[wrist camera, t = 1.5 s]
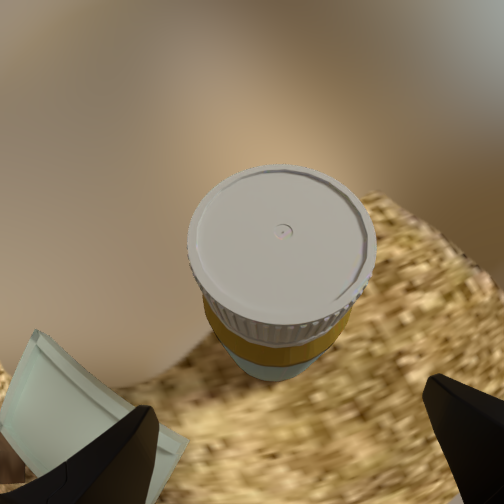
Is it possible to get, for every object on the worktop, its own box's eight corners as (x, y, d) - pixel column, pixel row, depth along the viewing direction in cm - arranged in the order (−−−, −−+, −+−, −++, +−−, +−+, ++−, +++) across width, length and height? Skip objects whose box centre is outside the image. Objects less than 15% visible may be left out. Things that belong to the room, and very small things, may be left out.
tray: (141, 532, 12) (121, 547, 9) (22, 428, 16) (-5, 424, 13) (195, 437, 18) (181, 443, 14) (60, 341, 22) (35, 328, 18)
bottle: (239, 390, 20) (187, 366, 7) (222, 309, 23) (169, 176, 10) (327, 368, 20) (422, 301, 7) (303, 290, 24) (339, 146, 11)
